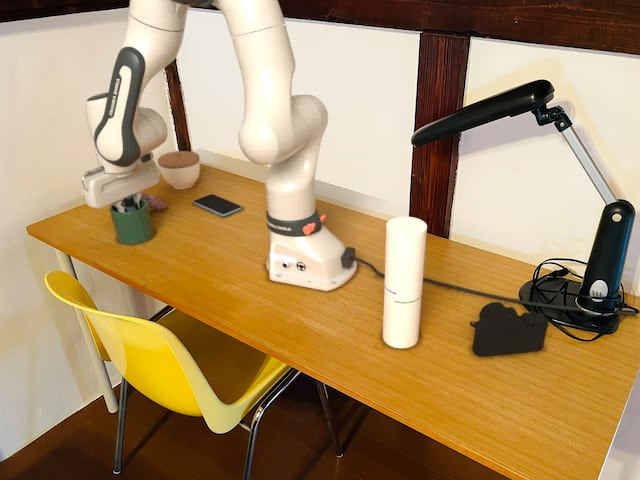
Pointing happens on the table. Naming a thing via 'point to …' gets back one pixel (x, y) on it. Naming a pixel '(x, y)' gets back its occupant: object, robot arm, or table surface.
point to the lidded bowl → (180, 168)
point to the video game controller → (153, 202)
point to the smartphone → (217, 205)
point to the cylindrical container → (403, 280)
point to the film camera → (508, 331)
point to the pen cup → (133, 224)
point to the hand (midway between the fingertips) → (129, 211)
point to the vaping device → (129, 204)
